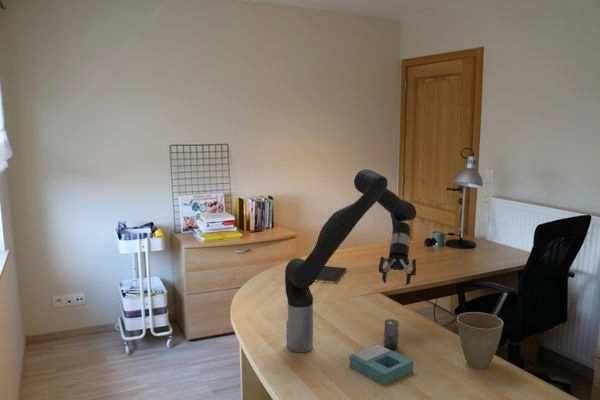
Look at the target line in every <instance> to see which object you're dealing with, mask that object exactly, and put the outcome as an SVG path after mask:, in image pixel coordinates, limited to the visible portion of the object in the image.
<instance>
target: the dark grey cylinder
mask: <svg viewBox="0 0 600 400" xmlns="http://www.w3.org/2000/svg"><path fill="white" fill-rule="evenodd" d="M383 333H384V334H383V336H384V337H383V347H385V348H387V349H389V350H391V351H393V352H395V351H397V350H399V349H398V347H399V345H398V344H399V321H398V320H397V319H392V318H388V319H385V320H384V331H383Z"/></svg>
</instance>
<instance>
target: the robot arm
mask: <svg viewBox="0 0 600 400" xmlns="http://www.w3.org/2000/svg"><path fill="white" fill-rule="evenodd" d="M353 185H354V188H355V189H356V190H357V191H358V192H359V193H360V194H362V195H361V196H360V197H359V198H358V199H357V200H356V201H355V202H353V203H351V204H350V205H349V204H348V206H344V207H343V208H340V209H339V210H337V211H335V212H334V213H332V214H331V216H330V217H329V218H328V219H327V220H326V221H325V223H324V224H323V226H322V228H321V230H320V232H319V234H318V237H317V240H316V244H315V245H314V248H313V249H312V251H311V252H310V253H309V255H308V256H307V257H305V259H304V258H303V259H302V258H299V257H296V258H293V259H291V260H289V262H288V263H287V264H286V267H285V269H284V271H285V272H284V281H285V282H284V283H285V285H284V286H285V294H286V298H287V320H286V346H287V348H288V350H289V351H291V352H294V353H308V352H309V351H311V350H313V348H314V297H313V296H314V295H313V294H312V292H311V289H310V287H311V286H312V285H313V284H314V283H315V280H316V279H317V277H318V276H319V274H320V272H321V271H322V269H323V268H324V266H326V265H327V263H328V261H329V260H330V259H331V258H332V256H333V255H334V254H335V252H336V251H337V249H339V247H340V246H341V245H342V244H343V242H344V241H345V240H346V238H347V237H348V236H349V235H350V234H351V232H352V230H353V229H354V228H355V227H356V226H357V224H358V223H359V222H360V220H362V218H363V216H365V215H366V213H367V212H368V211H369V210H370V209H371V208H372V206H374V205H375V204H376V203H378V205H380V206H381V207H383V208H384V209H385V210H386V211H387V212H388V213H390V219H391V223H392V232H391V240H390V245H389V254H388V257H387V258H386V257H383V256H381V257H380V259H379V264H378V265H379V266H378V273H380V274H382V277H381V279H382V282H383V283H384V284H387V275H388V274H389V272H391V271H392V270H394V271H402V270H403V272H404V273H405V274H406V279H405V280H406V281H405V285H406V286H408V285H409V284H411V277H412V276H416V275H417V260H416V259H415V258H413V259H412V260H411V259H409V252H410V243H411V242H410V235H411V226H410V224H409V223H407V222H409V221H413V220H414V219H415V218H416V215H417V210H416V207H415V206H414V204H412V203H411V202H409V201H407V200H404V199H401V198H400V197H399V196H398V195H397V194H396V193H394V192H393V191H391V190H390V189H388V188H387V187H388V179H387V177H385V176H384V175H381V174H380V173H378V172H375V171H373V170H372V169H366V168H365V169H361V170H359V171H358V172H357V173H356V175H355V176H354V180H353ZM386 263H387V265H386V267H385V268H384V265H385V264H386ZM409 264H410V266H411V268H412V270H410V269H409V266H408V265H409Z"/></svg>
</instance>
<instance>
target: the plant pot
mask: <svg viewBox="0 0 600 400" xmlns="http://www.w3.org/2000/svg"><path fill="white" fill-rule="evenodd" d="M456 322H457V329H458V335H459V341H460V345H461V349H462V351H463V356H464V357H465V361H466V365H468V366H470V367H471V368H474V369H479V370H483V368H484V369H487V367H488V368H489V367H490V366H491V364H492V361H493V359H494V357H495V355H496V352H497V350H498V347H499V345H500V344H499V343H500V340H501V337H502V332H503V327H504V321H503V320H502V319H501V318H500V317H498V316H497V315H493V314H491V313H486V312H479V311H475V312H474V311H470V312H463V313H460V314H459V315H457V317H456Z"/></svg>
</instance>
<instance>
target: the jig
mask: <svg viewBox="0 0 600 400" xmlns="http://www.w3.org/2000/svg"><path fill="white" fill-rule="evenodd" d="M349 367H350V368H351V369H353V370H355V371H356V372H358V373H360V374H362V375H364V376H366V377H367V378H369V379H371V380H373V381H375V382H376V383H378V384H380V385H382V386H384V387H385V386H387V385H389V384H391V383H393V382H395V381H398V380H400V379H402V378H403V377H405V376H408V375H410V374H413V372H414V360H412V359H410V358H408V357H406V356H404V355H402V354H399V353H397V352H395V351H391V350H389V349H387V348H385V347H384V345H380V344H376V345H373V346H370V347H368V348H365V349H363V350H360V351H358V352H355V353H353V354H351V355H349Z"/></svg>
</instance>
